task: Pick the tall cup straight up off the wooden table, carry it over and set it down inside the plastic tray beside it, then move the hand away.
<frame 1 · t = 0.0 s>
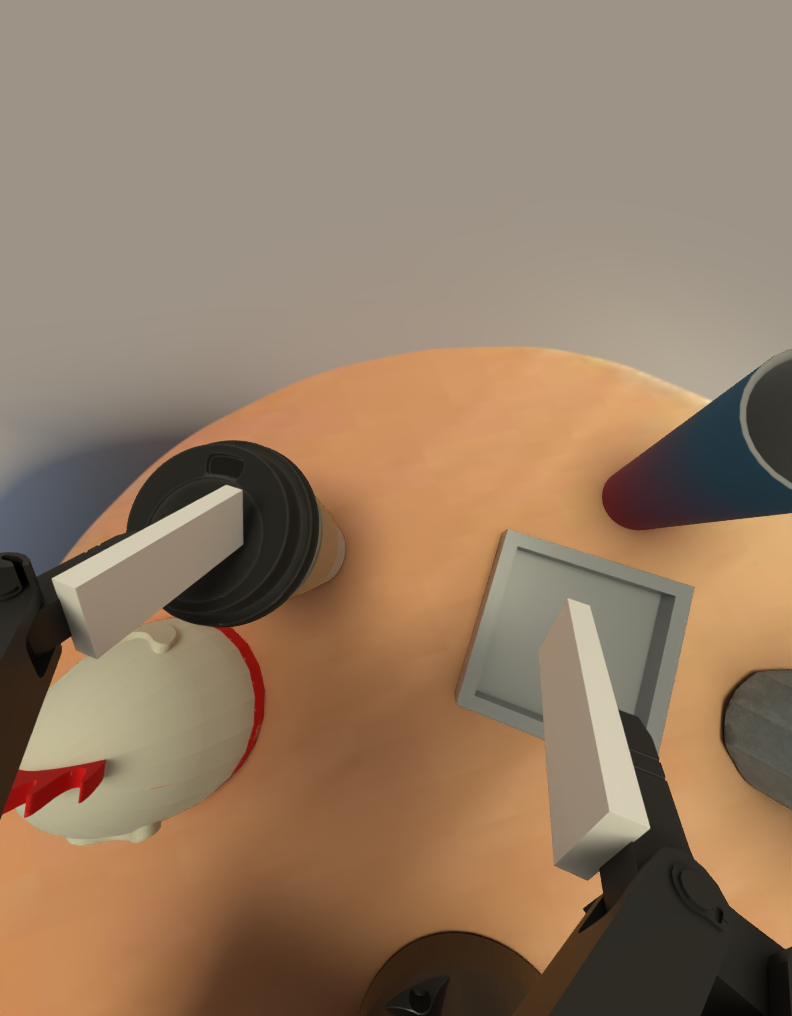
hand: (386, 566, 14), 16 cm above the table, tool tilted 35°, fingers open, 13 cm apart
kitchen timer: (186, 701, 31), on the table
tray: (562, 640, 28), on the table
moka pot: (780, 729, 25), on the table
coffee cup: (313, 552, 31), on the table, touching gripper
cup: (634, 499, 29), on the table
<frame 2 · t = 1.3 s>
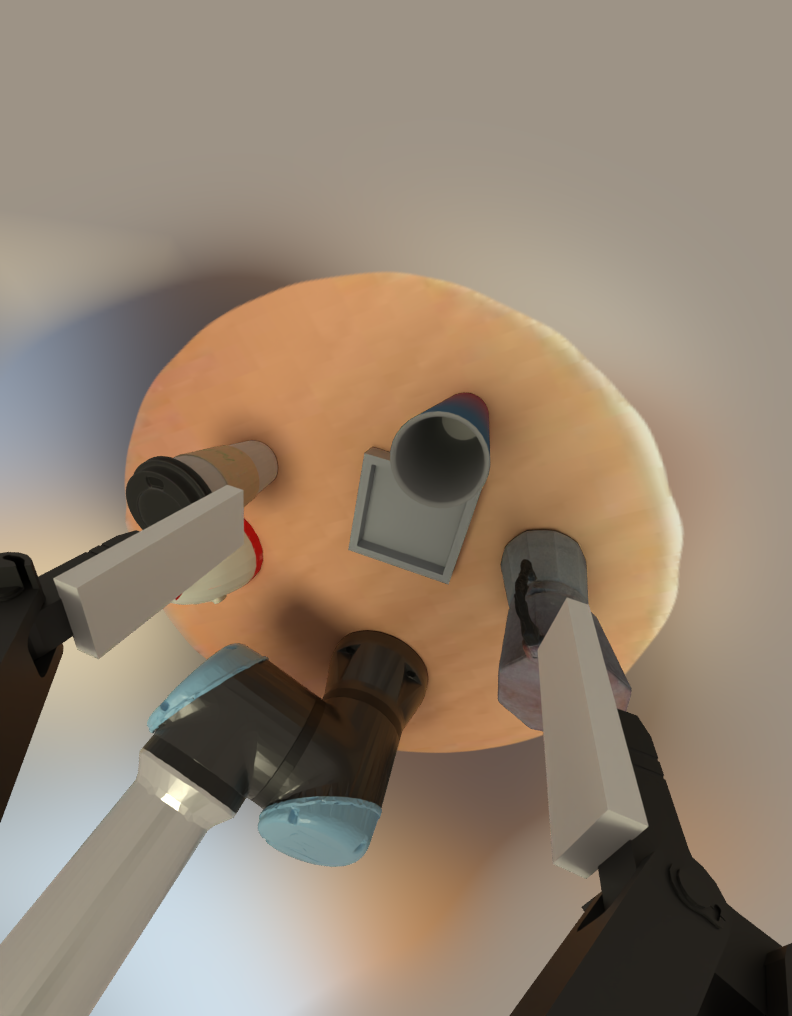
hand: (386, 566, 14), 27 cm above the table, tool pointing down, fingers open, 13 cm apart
kitchen timer: (223, 542, 55), on the table
tray: (413, 512, 44), on the table
moka pot: (538, 558, 42), on the table
coffee cup: (259, 462, 47), on the table
cup: (464, 417, 38), on the table
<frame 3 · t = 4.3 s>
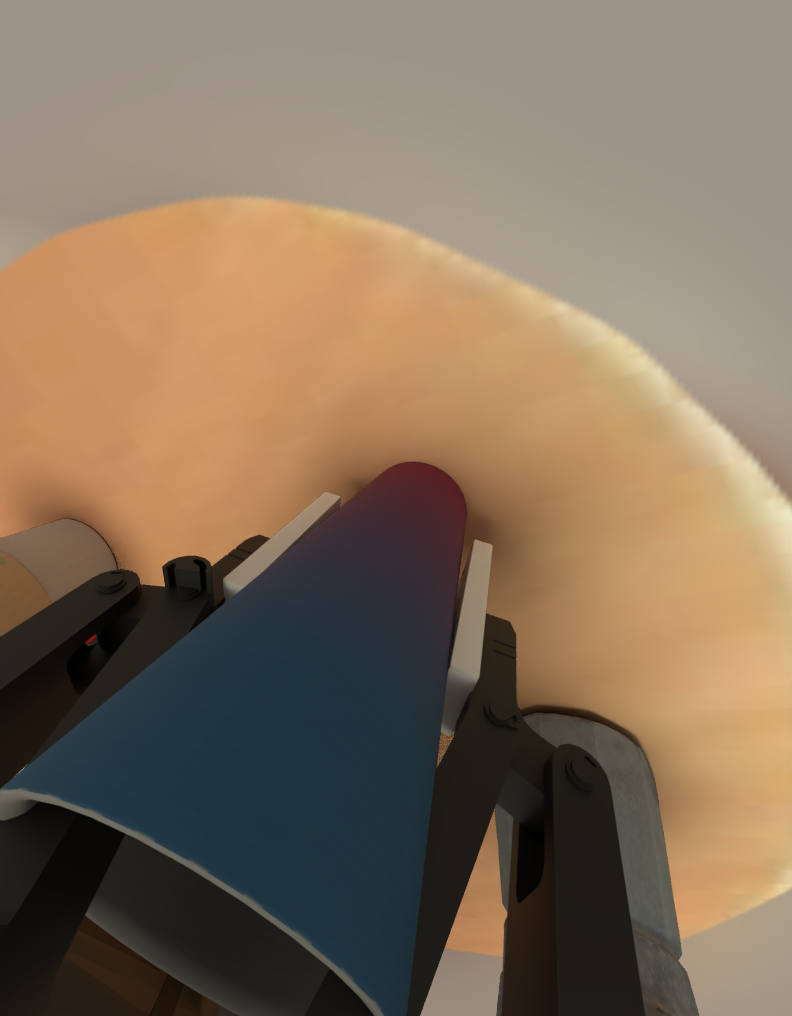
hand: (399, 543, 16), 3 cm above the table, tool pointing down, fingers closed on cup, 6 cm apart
moka pot: (559, 748, 23), on the table
coffee cup: (89, 551, 28), on the table
cup: (417, 507, 19), on the table, touching gripper
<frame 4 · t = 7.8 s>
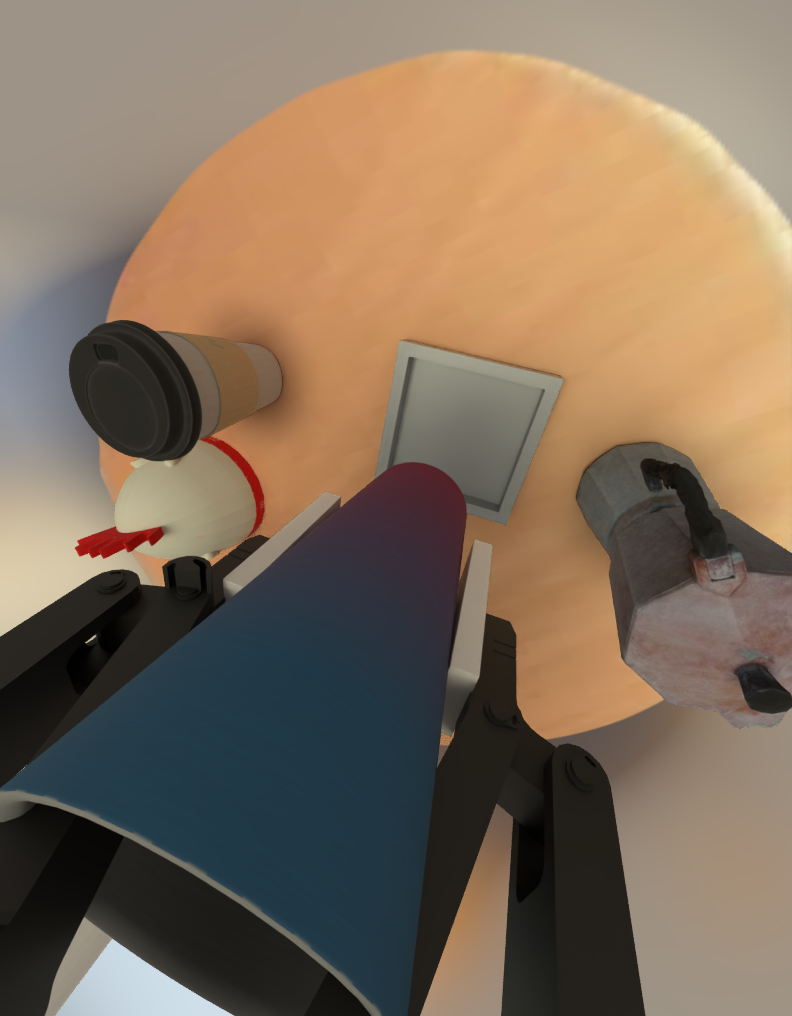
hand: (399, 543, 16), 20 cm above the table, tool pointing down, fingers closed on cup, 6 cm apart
kitchen timer: (216, 489, 45), on the table
tray: (460, 431, 34), on the table
moka pot: (628, 487, 32), on the table
coffee cup: (258, 376, 37), on the table
cup: (417, 507, 18), point 17 cm above the table, touching gripper
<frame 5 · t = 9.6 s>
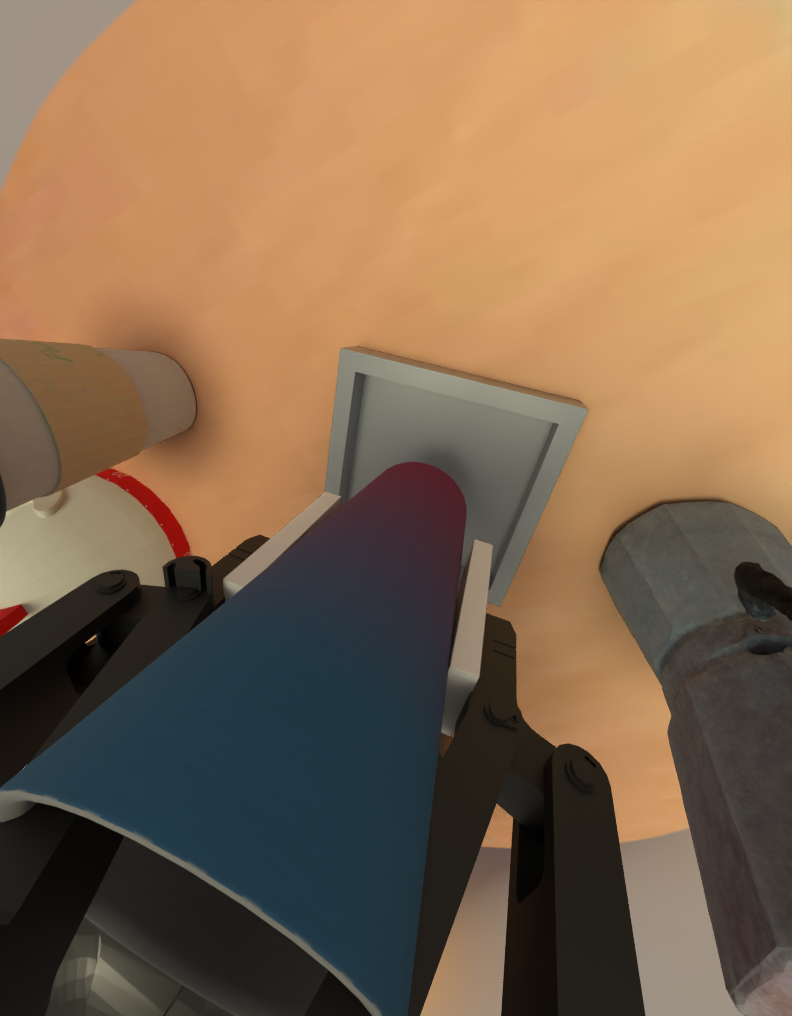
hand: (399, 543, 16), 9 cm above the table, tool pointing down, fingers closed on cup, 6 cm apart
kitchen timer: (132, 534, 36), on the table
tray: (435, 475, 24), on the table
moka pot: (675, 558, 22), on the table
coffee cup: (166, 394, 27), on the table
cup: (417, 507, 18), point 6 cm above the table, touching gripper
when the fingers open (5 cm above the table, at t = 11.2 s): cup drops 1 cm, resting on tray.
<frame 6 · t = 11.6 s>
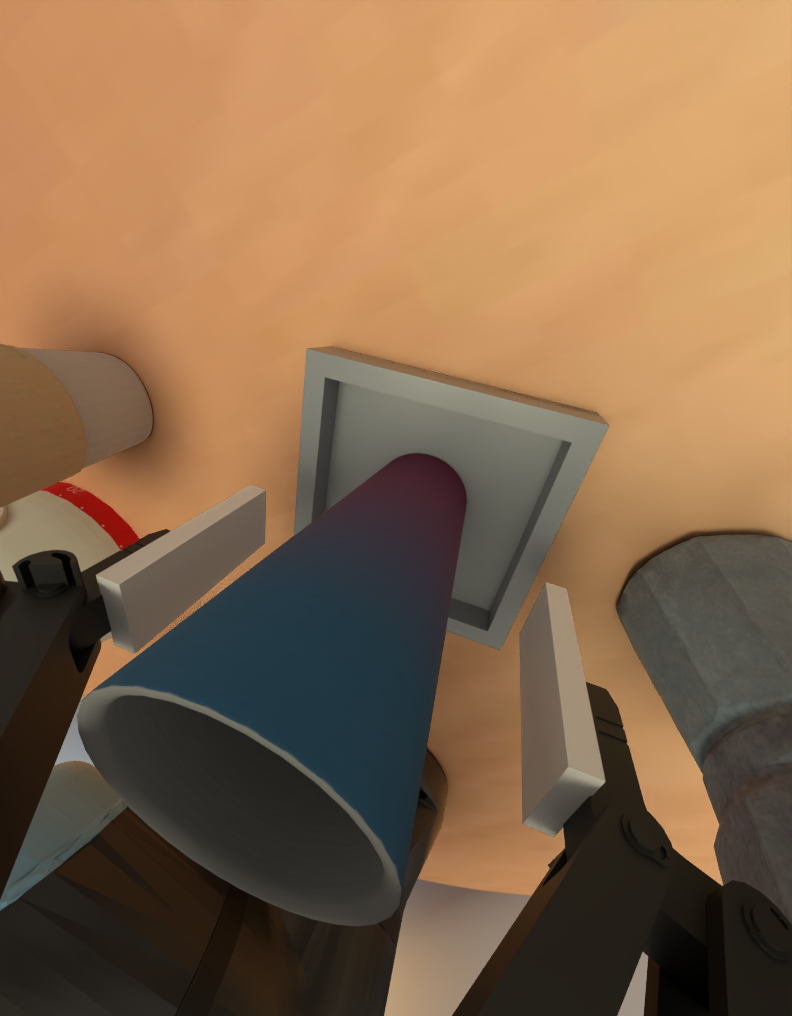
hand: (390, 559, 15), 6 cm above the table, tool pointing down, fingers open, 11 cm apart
kitchen timer: (95, 553, 32), on the table
tray: (424, 496, 20), on the table
moka pot: (707, 597, 19), on the table
coffee cup: (119, 401, 24), on the table
cup: (420, 496, 20), point 1 cm above the table, touching tray
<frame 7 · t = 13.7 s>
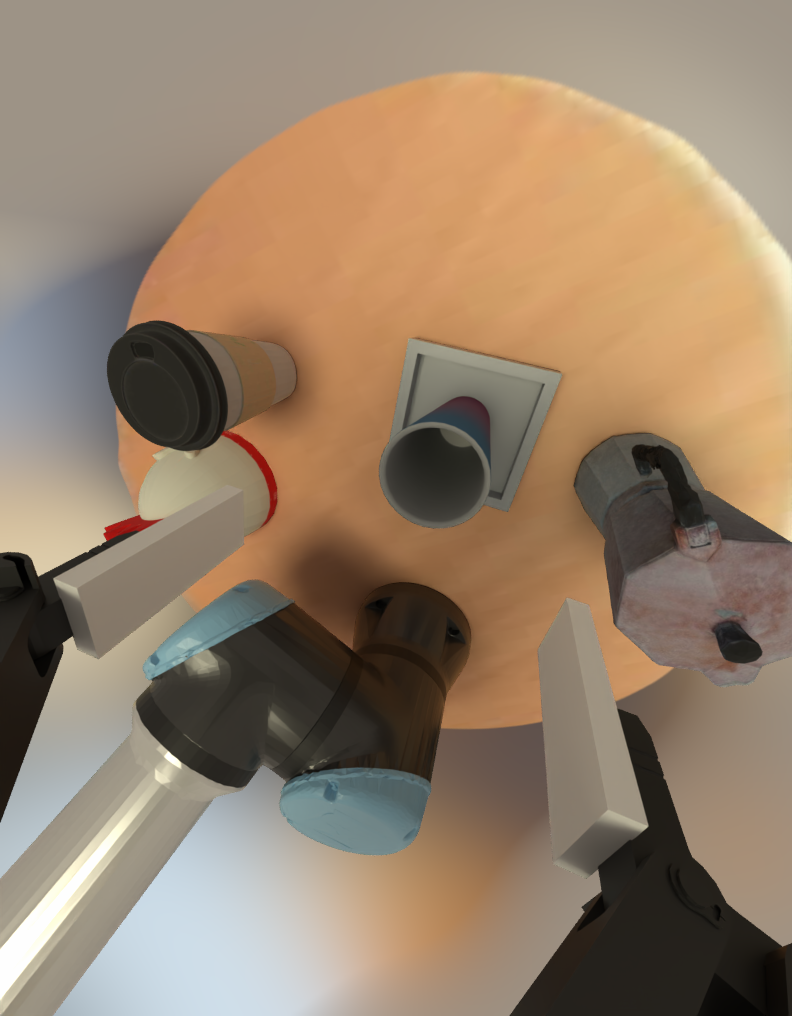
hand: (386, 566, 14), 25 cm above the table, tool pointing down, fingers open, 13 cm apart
kitchen timer: (231, 481, 47), on the table
tray: (464, 424, 36), on the table
moka pot: (622, 475, 34), on the table
coffee cup: (273, 372, 39), on the table
cup: (463, 422, 35), point 1 cm above the table, touching tray
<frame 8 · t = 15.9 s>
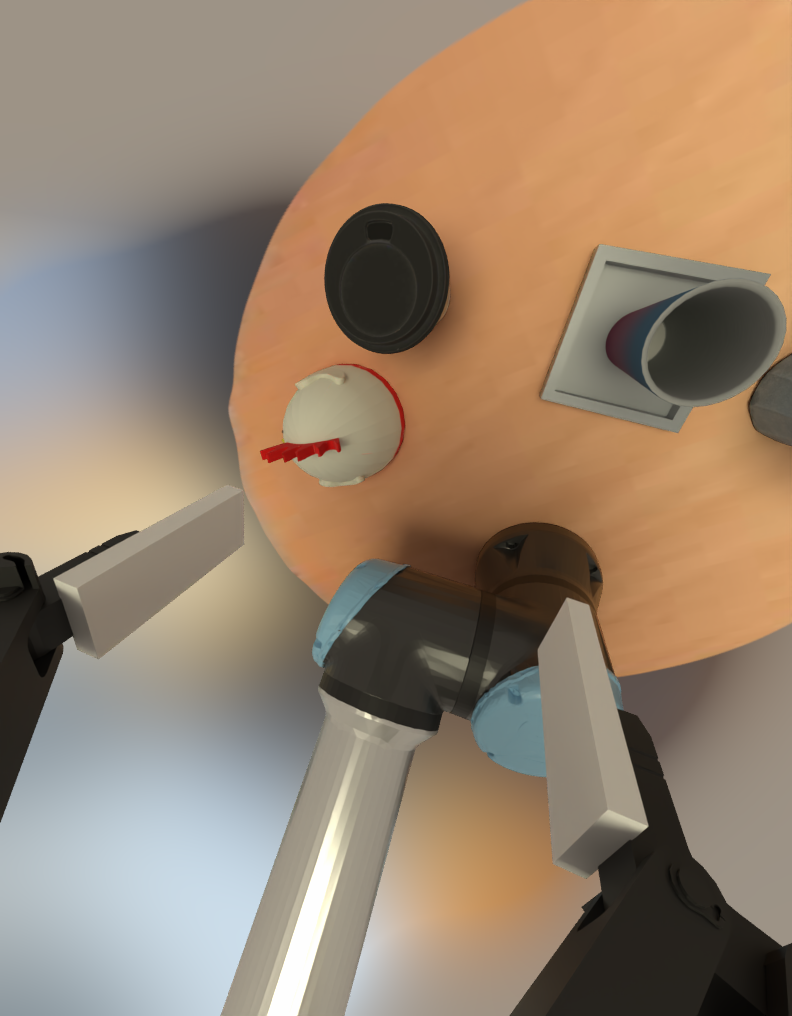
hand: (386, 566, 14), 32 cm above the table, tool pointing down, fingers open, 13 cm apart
kitchen timer: (353, 421, 47), on the table
tray: (633, 343, 35), on the table
coffee cup: (423, 298, 38), on the table
cup: (635, 340, 34), point 1 cm above the table, touching tray
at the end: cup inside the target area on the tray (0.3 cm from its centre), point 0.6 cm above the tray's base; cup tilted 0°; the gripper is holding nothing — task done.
